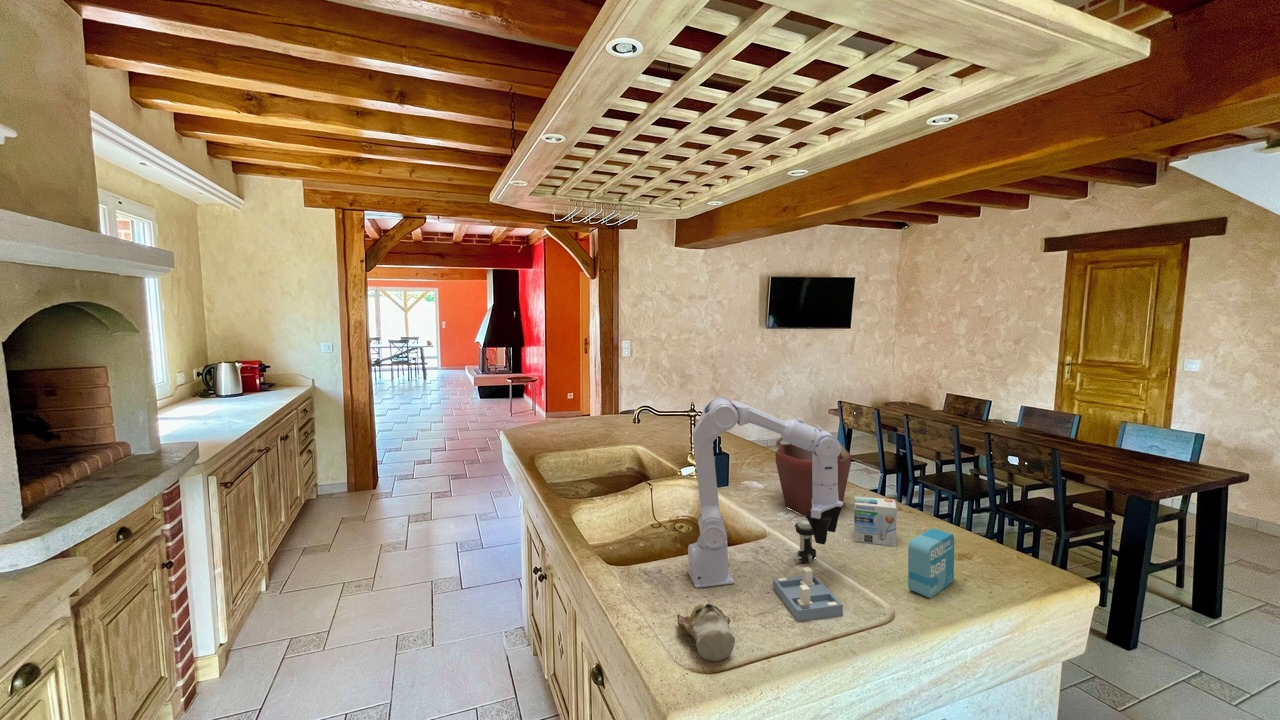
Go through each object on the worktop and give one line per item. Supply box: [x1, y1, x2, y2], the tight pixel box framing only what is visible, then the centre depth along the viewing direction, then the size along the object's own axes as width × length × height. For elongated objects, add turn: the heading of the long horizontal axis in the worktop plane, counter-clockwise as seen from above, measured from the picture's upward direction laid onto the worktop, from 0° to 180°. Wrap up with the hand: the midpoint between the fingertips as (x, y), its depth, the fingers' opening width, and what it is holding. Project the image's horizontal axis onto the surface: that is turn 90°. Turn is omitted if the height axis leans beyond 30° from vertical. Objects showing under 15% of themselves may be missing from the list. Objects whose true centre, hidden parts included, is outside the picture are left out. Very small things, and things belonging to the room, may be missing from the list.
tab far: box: [800, 566, 815, 586], centre depth 118 cm, size 3×2×4 cm
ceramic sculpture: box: [676, 603, 736, 662], centre depth 102 cm, size 11×9×15 cm
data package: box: [907, 527, 955, 599], centre depth 118 cm, size 12×4×12 cm, turn 125°
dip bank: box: [772, 573, 844, 623], centre depth 115 cm, size 10×13×2 cm
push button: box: [794, 519, 817, 564], centre depth 133 cm, size 7×5×10 cm
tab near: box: [797, 585, 813, 606], centre depth 111 cm, size 3×2×4 cm
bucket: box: [775, 436, 852, 515], centre depth 167 cm, size 24×22×25 cm
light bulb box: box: [853, 495, 898, 547], centre depth 143 cm, size 11×7×11 cm, turn 68°
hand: (825, 537), depth 124 cm, fingers open, 7 cm apart
